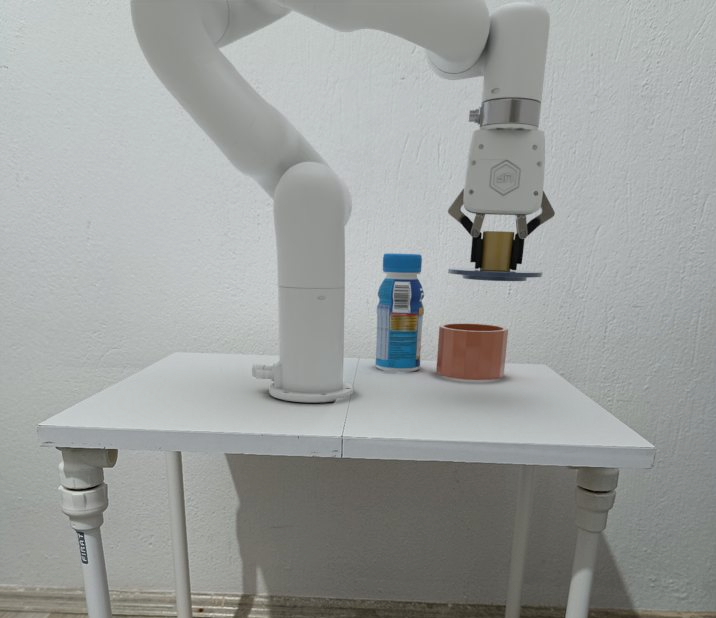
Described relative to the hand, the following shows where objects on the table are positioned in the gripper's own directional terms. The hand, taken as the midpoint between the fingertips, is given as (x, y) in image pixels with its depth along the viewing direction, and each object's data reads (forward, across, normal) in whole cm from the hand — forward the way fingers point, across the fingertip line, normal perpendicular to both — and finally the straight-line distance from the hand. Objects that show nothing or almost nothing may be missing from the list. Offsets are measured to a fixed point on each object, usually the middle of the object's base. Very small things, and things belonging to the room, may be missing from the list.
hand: (495, 267), depth 91 cm
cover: (+1, 0, 0) cm, 1 cm away
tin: (+19, -2, +20) cm, 27 cm away
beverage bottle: (+19, -15, +24) cm, 34 cm away
